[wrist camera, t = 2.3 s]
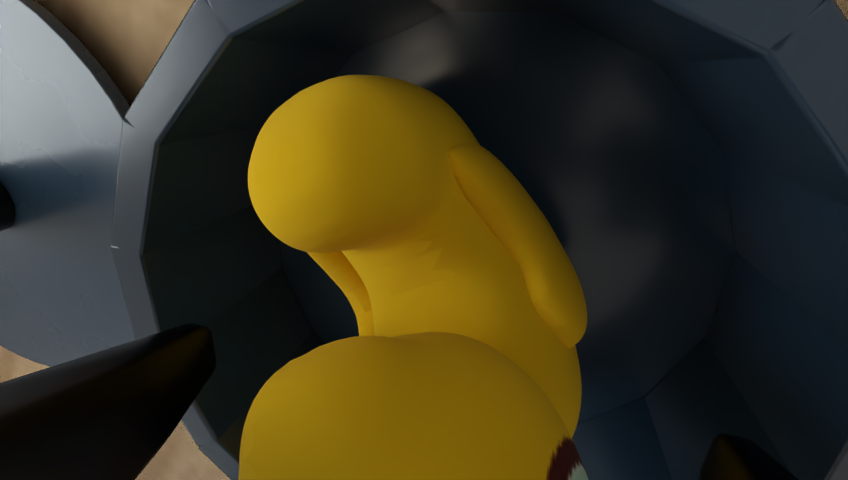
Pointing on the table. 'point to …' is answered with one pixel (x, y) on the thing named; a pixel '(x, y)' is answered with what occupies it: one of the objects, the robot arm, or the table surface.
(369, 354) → the duckling
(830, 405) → the pot
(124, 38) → the table surface
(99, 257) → the pot lid
